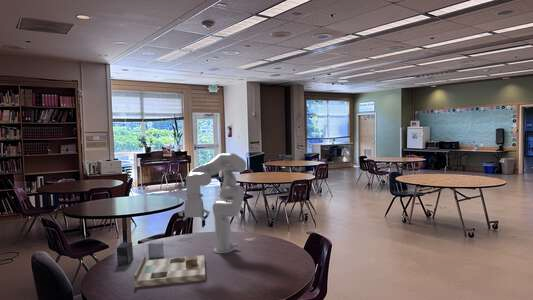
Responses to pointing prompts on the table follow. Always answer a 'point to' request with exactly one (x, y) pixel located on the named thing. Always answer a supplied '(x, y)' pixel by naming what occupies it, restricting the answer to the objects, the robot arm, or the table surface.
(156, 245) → the medicine box
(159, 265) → the box
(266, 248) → the table surface
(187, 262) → the walnut block
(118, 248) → the small box
